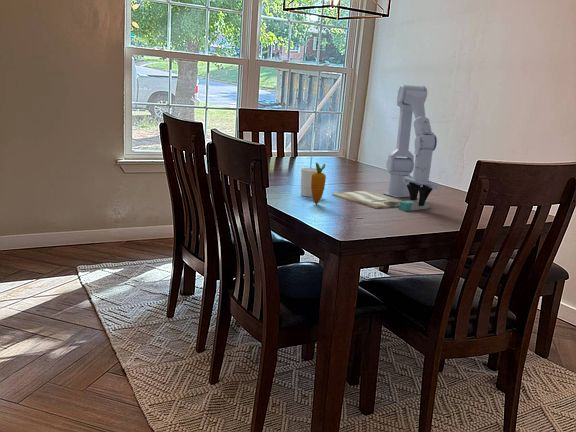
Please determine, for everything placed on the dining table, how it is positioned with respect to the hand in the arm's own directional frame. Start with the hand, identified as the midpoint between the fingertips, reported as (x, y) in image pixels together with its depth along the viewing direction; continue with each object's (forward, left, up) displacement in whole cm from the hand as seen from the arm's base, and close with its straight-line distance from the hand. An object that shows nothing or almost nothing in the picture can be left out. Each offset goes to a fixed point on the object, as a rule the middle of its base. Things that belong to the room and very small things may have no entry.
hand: (417, 204), depth 194 cm
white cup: (+25, -32, -2) cm, 41 cm away
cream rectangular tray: (+7, -17, -1) cm, 18 cm away
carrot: (+33, -18, -2) cm, 38 cm away
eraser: (0, 0, -1) cm, 1 cm away
